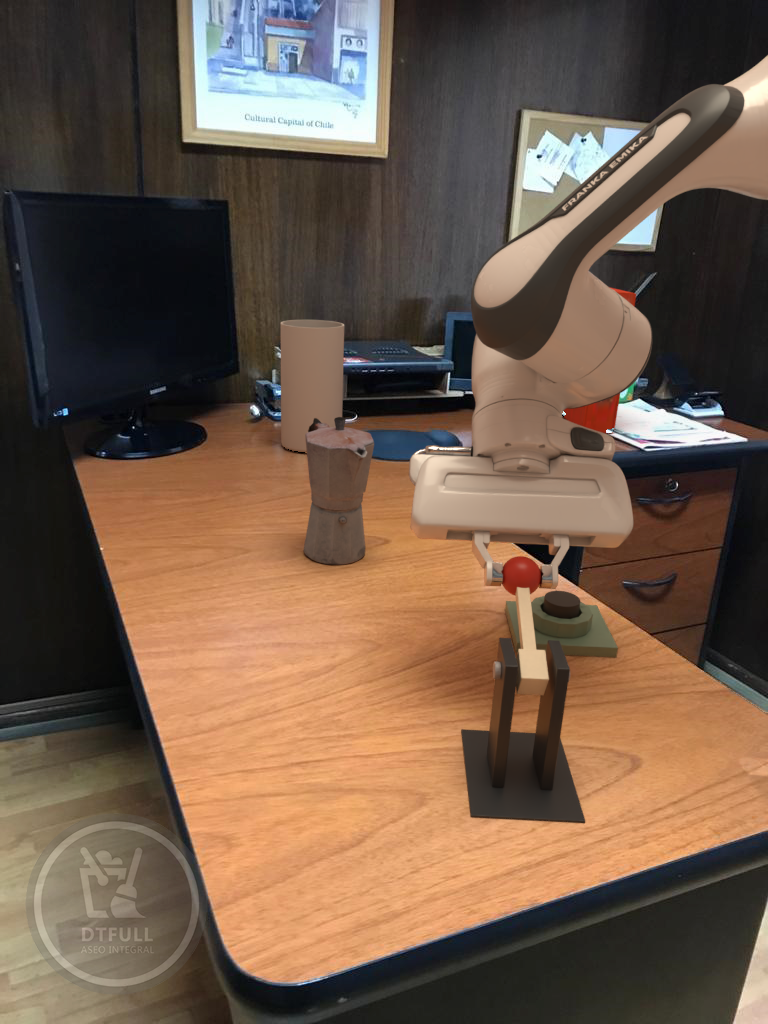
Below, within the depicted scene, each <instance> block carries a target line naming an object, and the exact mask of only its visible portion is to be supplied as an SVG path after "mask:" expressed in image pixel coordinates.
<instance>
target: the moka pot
mask: <svg viewBox="0 0 768 1024" xmlns="http://www.w3.org/2000/svg"><path fill="white" fill-rule="evenodd" d="M346 420H347V419H346V417H344V416H342V417H337V418H335V419H334V421H335V426H336V427H330V426H329V425H328V424H326V423H321V422H320V421H319V419H317V418H314V420H313V424H312V425H311V426H310V427H309V430H308V433H306V434H305V438H306V448H307V453H306V455H307V456H306V458H307V467H308V468H307V469H308V479H309V486H310V491H311V492H310V496H311V497H310V501H311V503H310V510H309V515H308V522H307V527H306V528H307V529H306V533H305V538H304V545H303V553H304V554H305V556H306V557H308V559H310V560H312V561H314V562H317V563H320V564H323V565H331V566H334V565H335V566H336V565H337V566H342V565H349V564H352V563H356V562H358V561H359V560H361V559H363V557H365V555H366V541H365V540H366V539H365V527H364V517H363V516H364V515H363V505H362V504H363V499H364V493H366V490H367V487H368V480H369V475H370V469H371V462H372V458H373V454H374V447H375V441H374V438H373V437H372V433H370V432H367V431H364V430H360V429H357V428H353V427H345V425H346Z"/></svg>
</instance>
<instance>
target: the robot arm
mask: <svg viewBox="0 0 768 1024" xmlns="http://www.w3.org/2000/svg"><path fill="white" fill-rule="evenodd" d="M698 189H720V190H724V191H729V192H732V193H736V194H740V195H743V196H747V197H750V198H753V199H758V200H763V201H764V200H765V201H768V54H767V55H766V56H765V57H764V58H763V59H761V61H759V62H757V64H755V66H753V67H751V68H750V69H749V70H747V71H746V72H744V73H743V74H741V75H740V76H738V77H736V78H734V79H733V80H731V81H729V82H727V83H725V84H717V83H711V84H706V85H703V86H700V87H698V88H696V89H694V90H692V91H690V92H688V93H687V94H686V95H684V96H683V97H681V98H680V99H678V100H676V102H674V103H673V104H672V105H670V106H669V107H668V108H666V109H665V110H664V111H663V112H662V113H660V114H659V115H658V116H656V117H655V118H654V119H653V120H651V122H649V123H648V124H647V125H646V126H645V127H643V129H642V130H640V131H639V132H638V133H637V134H636V135H634V136H633V138H631V139H630V140H629V141H628V142H626V143H625V144H624V145H623V146H622V147H621V148H620V149H619V150H618V151H617V152H615V154H613V155H611V157H610V158H608V160H606V162H604V163H603V164H602V165H600V167H599V168H597V169H596V170H595V171H594V172H592V174H591V175H590V176H589V177H588V178H586V179H585V180H584V181H583V182H582V183H581V184H579V185H578V187H576V188H575V189H574V190H573V191H571V193H570V194H568V195H567V196H566V197H565V198H564V199H563V200H562V201H561V202H559V203H558V204H557V205H556V206H555V207H554V208H553V209H552V210H550V211H549V212H548V213H547V214H546V215H544V216H543V217H542V218H541V219H540V220H539V221H537V222H536V223H535V224H533V225H531V226H530V227H528V228H527V229H526V230H525V231H523V232H521V233H520V234H518V235H517V236H515V237H513V238H512V239H510V240H509V241H507V242H506V243H505V244H503V245H502V246H500V247H499V248H498V249H497V250H496V251H494V252H493V253H492V254H491V255H490V256H489V257H488V258H487V259H486V260H485V262H484V263H483V264H482V265H481V267H480V268H479V270H478V272H477V274H476V275H475V277H474V280H473V282H472V287H471V288H472V289H471V295H470V310H471V317H472V323H473V327H474V331H475V336H474V341H473V346H472V347H473V348H472V355H471V391H472V395H473V398H474V402H475V406H474V410H473V413H472V416H471V446H463V445H462V446H460V445H459V446H458V445H457V446H456V445H455V446H440V445H437V444H432V445H431V444H429V445H425V448H421V449H419V450H417V451H415V452H414V453H413V454H412V455H411V456H410V458H409V462H408V478H409V481H410V482H411V484H412V485H413V486H414V490H413V491H414V492H413V496H412V497H413V498H412V504H411V512H410V526H409V527H410V531H412V533H413V534H414V535H415V536H416V538H417V539H421V540H438V541H439V540H440V541H457V542H459V541H461V542H471V552H472V554H473V555H474V557H475V559H476V561H477V562H478V563H479V565H480V567H481V568H482V569H483V585H484V587H502V582H503V574H502V571H503V566H504V562H500V561H499V562H498V561H494V560H493V558H492V556H491V553H489V551H488V549H489V545H490V543H504V544H524V545H542V546H543V545H544V546H545V545H547V546H548V554H549V555H550V556H554V558H553V559H552V561H551V562H550V564H541V565H540V566H539V569H540V572H541V582H540V585H539V587H538V589H546V590H547V589H548V590H555V589H557V587H558V586H559V566H560V565H561V563H562V562H563V559H564V558H565V556H566V554H567V552H568V550H569V549H570V547H588V548H608V549H609V548H610V549H616V548H618V547H620V546H621V545H622V544H623V543H624V542H625V541H626V540H627V539H628V537H629V536H630V534H631V533H632V531H633V528H634V514H633V507H632V506H633V505H632V500H631V496H630V490H629V487H628V482H627V480H626V479H627V478H626V477H625V474H624V472H623V469H622V468H621V467H620V466H619V465H618V464H617V463H616V462H614V461H613V458H614V456H615V452H616V441H615V438H613V436H612V435H610V434H607V433H602V432H599V431H596V430H592V429H589V428H586V427H583V426H581V425H578V424H575V423H573V422H570V421H568V420H567V419H565V418H564V417H563V416H562V413H563V411H564V410H565V409H566V408H567V409H574V408H580V407H584V406H587V405H591V404H594V403H597V402H600V401H603V400H606V399H608V398H611V397H613V396H616V395H618V394H620V395H621V394H622V393H623V392H625V391H626V390H628V389H629V388H631V386H632V385H634V384H635V383H636V382H637V381H638V379H639V378H640V376H641V375H642V374H643V372H644V370H645V369H646V367H647V364H648V362H649V360H650V357H651V354H652V349H653V342H654V341H653V328H652V325H651V322H650V321H649V318H647V317H646V315H645V314H643V313H642V312H641V311H640V310H639V309H638V308H637V307H635V305H634V306H633V305H632V304H631V303H629V302H628V301H627V300H626V299H625V298H623V297H622V296H621V295H620V294H618V293H617V292H616V291H615V290H613V289H611V288H612V287H610V286H608V285H607V284H606V283H604V282H603V281H602V280H601V279H599V277H597V276H596V275H595V274H593V273H592V272H591V271H590V269H591V267H592V266H593V265H594V263H596V262H597V261H598V260H599V259H600V258H601V257H603V256H604V255H605V254H607V252H608V251H610V250H611V249H612V248H613V247H614V246H615V245H617V244H618V243H619V242H621V240H622V239H624V238H625V237H626V236H627V235H628V234H630V233H631V232H632V231H633V230H634V229H635V228H637V227H638V226H639V225H640V224H641V223H642V222H644V221H645V220H646V219H647V218H648V217H649V216H651V215H653V213H654V212H656V211H657V210H658V209H659V208H660V207H661V206H662V205H664V204H665V203H667V202H668V201H669V200H671V199H673V198H675V197H676V196H679V195H681V194H683V193H685V192H689V191H692V190H698ZM609 287H610V288H609Z"/></svg>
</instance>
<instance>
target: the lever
mask: <svg viewBox="0 0 768 1024" xmlns="http://www.w3.org/2000/svg"><path fill="white" fill-rule="evenodd" d="M502 574H503V582H502V584H501V586H502V588H503V589H505V591H506V592H508V593H509V594H510V595H512V596H515V601H516V606H517V616H518V626H519V636H520V646H521V649H518V653H517V652H516V655H515V656H516V660H517V664H518V673H517V682H516V690H515V692H516V694H517V695H527V696H540V695H544V693H545V690H546V687H547V684H548V681H549V675H548V667H547V659H546V651H545V650H537V649H536V641H535V632H534V623H533V615H532V606H531V602H532V598H531V595H532V594H533V593H534V592H536V591H537V590H538V589H539V585H540V582H541V572H540V566H539V565H538V564H537V562H536V561H535V560H534V559H532V558H530V557H527V556H523V555H522V556H521V555H519V556H517V555H516V556H514V557H511V558H509V559H508V560H507V561H506V562H505V563H503V571H502Z"/></svg>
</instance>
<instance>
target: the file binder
mask: <svg viewBox="0 0 768 1024" xmlns="http://www.w3.org/2000/svg"><path fill="white" fill-rule="evenodd" d="M608 287H609V288H611V289H613V290H615V291H616V292H617V293H618V294H620V295H621V296H622V297H623V298H625V299H626V300H627V301H628V302H629V303H631V304H632V305H633V306H634V307H635V306H636V299H637V293H635V292H631V291H627V290H623V289H618V288H614V287H610V286H608ZM620 399H621V393H620V394H618V395H616V396H613V397H611V398H608V399H606V400H603V401H600V402H597V403H594V404H591V405H587V406H584V407H580V408H574V409H567V408H566V409H565V410H564V412H565V413H566V415H565V416H564V417H563V419H566V420H568V421H570V422H573V423H575V424H578V425H581V426H583V427H586V428H589V429H592V430H596V431H599V432H602V433H605V434H607V433H606V430H607V429H612V428H616V423H617V417H618V416H617V415H618V409H619V404H620Z"/></svg>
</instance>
